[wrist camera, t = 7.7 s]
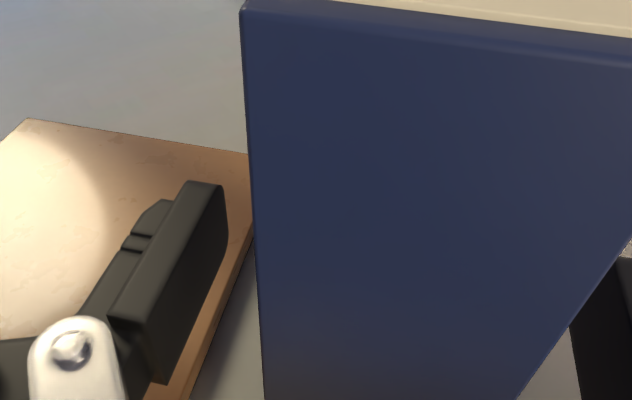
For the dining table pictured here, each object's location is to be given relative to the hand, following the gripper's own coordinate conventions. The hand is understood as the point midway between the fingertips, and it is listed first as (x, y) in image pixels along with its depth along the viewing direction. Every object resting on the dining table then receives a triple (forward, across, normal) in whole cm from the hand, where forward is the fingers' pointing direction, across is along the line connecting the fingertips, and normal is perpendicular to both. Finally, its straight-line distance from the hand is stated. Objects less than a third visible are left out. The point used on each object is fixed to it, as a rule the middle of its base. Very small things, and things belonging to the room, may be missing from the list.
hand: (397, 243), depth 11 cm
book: (+6, 0, +6) cm, 9 cm away
